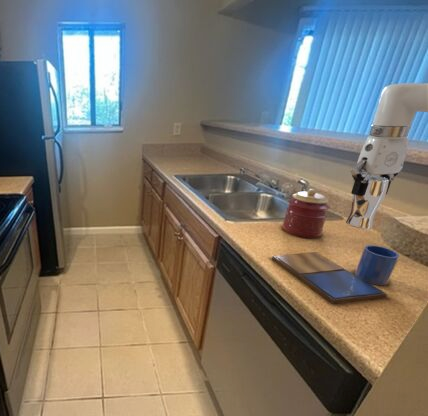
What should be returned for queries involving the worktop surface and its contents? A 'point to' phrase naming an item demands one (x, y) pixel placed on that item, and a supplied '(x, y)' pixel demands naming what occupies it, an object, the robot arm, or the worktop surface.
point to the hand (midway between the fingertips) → (368, 193)
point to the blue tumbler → (376, 264)
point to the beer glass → (367, 203)
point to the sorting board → (328, 278)
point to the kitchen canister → (306, 214)
